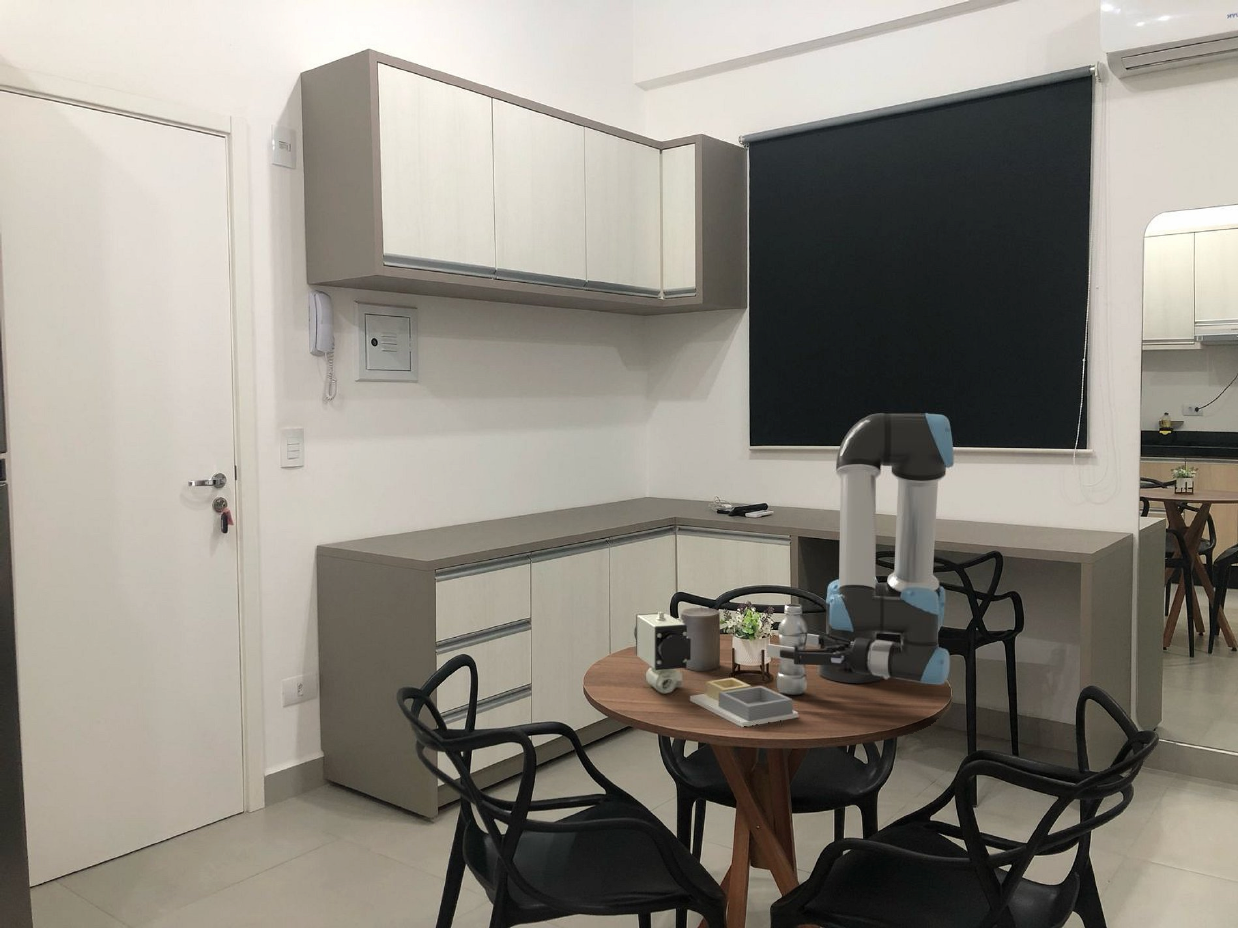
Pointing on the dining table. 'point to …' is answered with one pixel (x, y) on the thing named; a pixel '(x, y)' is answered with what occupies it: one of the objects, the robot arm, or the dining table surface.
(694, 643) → the pillar candle
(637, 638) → the ball valve
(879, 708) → the dining table surface
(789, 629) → the plastic bottle
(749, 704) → the fitting board
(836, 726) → the dining table surface
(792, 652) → the robot arm
